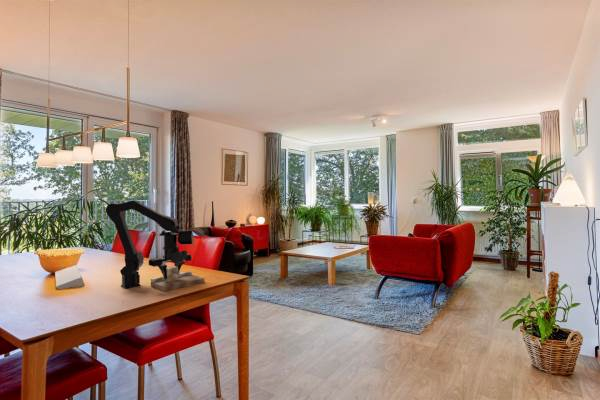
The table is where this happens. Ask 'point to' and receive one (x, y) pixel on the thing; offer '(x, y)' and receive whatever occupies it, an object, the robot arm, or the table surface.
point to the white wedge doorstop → (69, 278)
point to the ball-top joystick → (172, 273)
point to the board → (176, 281)
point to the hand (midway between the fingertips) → (171, 278)
